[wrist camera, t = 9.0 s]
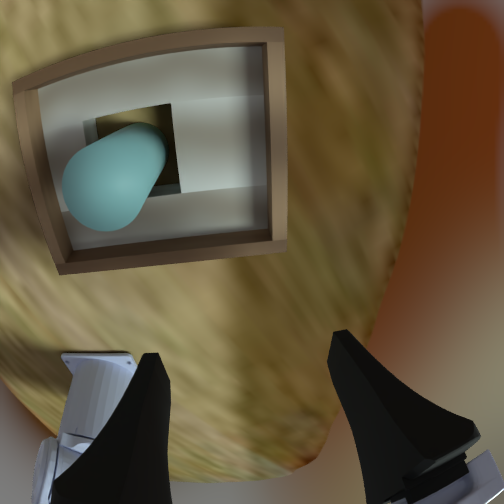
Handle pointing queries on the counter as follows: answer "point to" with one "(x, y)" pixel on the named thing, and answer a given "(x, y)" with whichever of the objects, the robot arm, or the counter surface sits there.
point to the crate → (186, 141)
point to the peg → (114, 176)
